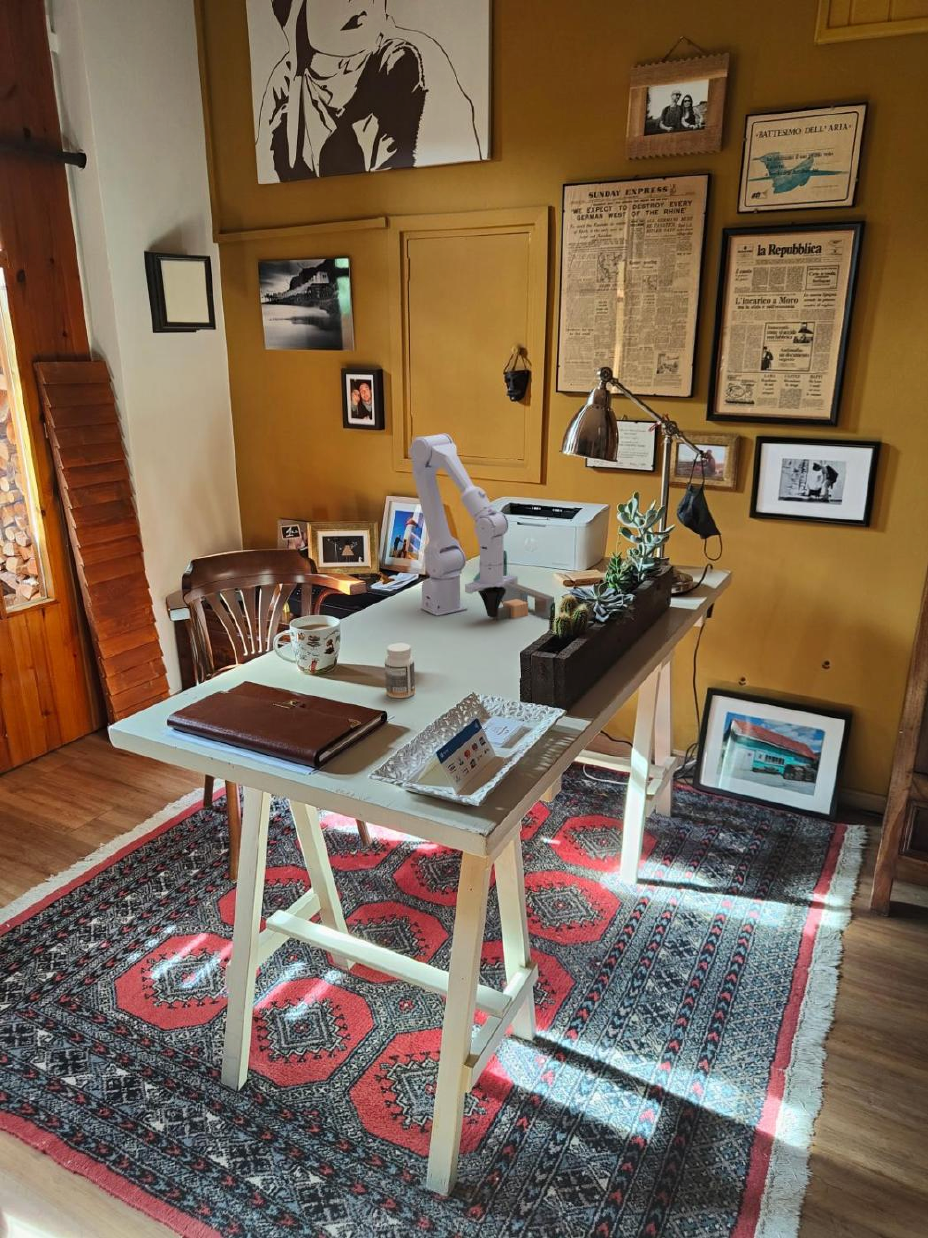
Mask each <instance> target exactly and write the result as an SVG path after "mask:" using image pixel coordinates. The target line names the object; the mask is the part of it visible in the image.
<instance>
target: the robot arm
mask: <svg viewBox="0 0 928 1238" xmlns="http://www.w3.org/2000/svg"><path fill="white" fill-rule="evenodd" d="M457 449H458V447H457V445H456V444H455V443H454V441H453V438H452V437H451V436H450V435H449V434H448V433H445V432H444V433H443V432H442V433H439V434H434V435H428V436H427V435H426V436H417V437H415V438H413V441H411V444H410V447H409V449H408V453H409V456H410V460H411V464H412V467H411V468H412V469H411V470H412V477H413V480H414V485H415V488H416V492H417V496H418V500H419V504H420V507H421V513H422V516H423V520H424V524H425V527H426V531H427V534H428V541H429V542H428V543H427V544H426V546H425V547H424V549H423V553H424V557H425V558H424V567H425V570H426V572H427V573H428V575H429V578H426V579H423V581H422V584H421V603H422V605H421V606H420V609H421V610H424V611H426V612H428V613H430V614H433V615H435V616H442V615H447V614H451V613H456V612H459V611H460V612H461V611H464V610H468V606H465V605H463V604H461V575H462V570H463V569H464V568H465V567H466V564H467V558H466V554H465V552H464V551H463V549H462V547H461V544H460V541H459V539H456V538H455V537H453V535H452V534H451V531H450V526H449V523H448V520H447V515H446V512H445V507H444V504H443V499H442V496H441V492H440V488H439V484H438V483H439V482H438V479H437V476H436V475H437V473H438V471H439V469H443V470H444V471H445V473H446V474H447V476H448V477H449V478H450V480H451V481H452V482H453V483H454V485H455V487H456V488H457V489H458V490H459V491H460V493H461V497H460V498H461V499H460V501H461V503H462V505H463V507H464V508H465V509H466V511H467V512H468V514H469V516H470V517H471V519H472V521H474V523H475V525H473V528H474V529H473V530H474V533H475V535H476V537H477V539H478V540H477V543H478V546H479V572H480V579H479V580H477V581H474V580H473V581H472V582H470V583H469V582H468V583H466V584H464V592H465V593H467V594H470V595H471V594H473V593H475V592H478V594H479V596H480V597H481V599H482V602H483V604H484V607H485V610H486V614H487V616H488V617H490V618H492V619H494V618H493V617H496V616H497V612H498V608H500V604H501V603H502V602H501V600H502V598H503V596H504V594H505V593H506V589H505V588H503V586H505V585H510V584H518V582H519V581H518V580H519V579H518V578H519V576H517V575H516V574H510V575H506V576H503V551H504V536H505V534H506V533H508V529H509V521H508V519H507V517H506V514H505V513H503V512H502V511H499V510H498V509H497V508H495V506H494V505H493V504H492V503H491V501H490V500H489V499H488V496H487V492H485V490H484V489H483V488H481V487H480V486H476V485H474V484H473V482H472V479H471V477H470V476H469V474H468V472H467V470H466V469H465V467H464V465H463V463H462V462H461V460H460V458H459V455H458V454H457V453H458V450H457ZM518 585H519V584H518Z"/></svg>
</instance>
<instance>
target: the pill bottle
mask: <svg viewBox="0 0 928 1238" xmlns="http://www.w3.org/2000/svg"><path fill="white" fill-rule="evenodd" d="M386 652H387V657H386V658H385V659H384V670H385V688H386V691H385V692H386V694H387V695H388V697H390V698H393V699H405V698H410V697H412V696H414V695H415V692H416V679H415V677H416V676H415V675H416V673H415V659H414V657H413V656H412V655H411V654H412V646H411V645H410V644H409V643H405V642H396V643H391V644H389V645H388V646H387V647H386Z"/></svg>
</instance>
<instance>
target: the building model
mask: <svg viewBox="0 0 928 1238" xmlns="http://www.w3.org/2000/svg"><path fill="white" fill-rule="evenodd" d="M503 588H505V589H506V593H505V594H504V596H503V598H502V600H501V602H500V603H503V602H505V601H510V600H515V599H519V600H521V601H524V602H526V603H528V604H529V602H528V601H529V600H528V599H529V598H528V597H531V598H534V615H535V616H537V617H540V618H542V619H545V620H547V619H548V620H549V619H550V618H549V616H550V607H551V604H553V603H554V604H555V597H554V596H552V595H549V594H546V593H544V592H540V591H537V590H535V589H533V588H530V587H527V586H523V585H520V584H510V585H505V586H503Z"/></svg>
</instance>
